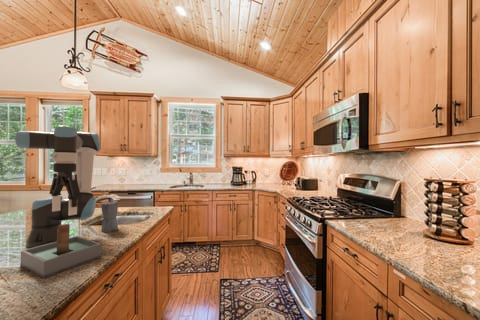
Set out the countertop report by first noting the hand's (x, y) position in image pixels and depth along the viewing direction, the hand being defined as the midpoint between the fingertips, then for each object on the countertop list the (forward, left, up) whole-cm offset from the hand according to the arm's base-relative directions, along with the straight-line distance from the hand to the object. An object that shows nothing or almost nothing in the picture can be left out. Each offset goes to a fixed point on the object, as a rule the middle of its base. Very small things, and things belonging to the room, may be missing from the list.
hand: (64, 212), depth 91 cm
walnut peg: (0, 0, -19) cm, 19 cm away
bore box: (0, 0, -20) cm, 20 cm away
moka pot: (-25, +35, -21) cm, 47 cm away
